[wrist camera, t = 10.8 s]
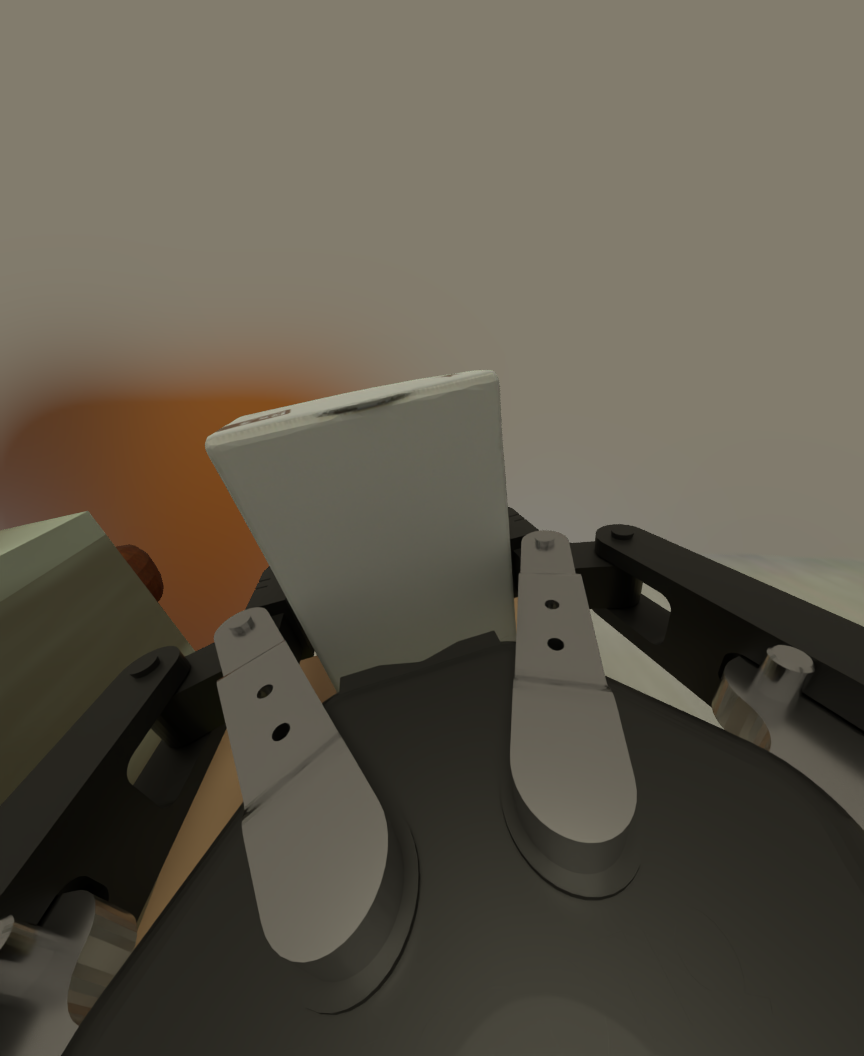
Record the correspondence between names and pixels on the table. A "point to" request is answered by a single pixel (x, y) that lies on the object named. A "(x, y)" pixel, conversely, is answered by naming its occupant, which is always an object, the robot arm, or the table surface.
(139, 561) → the potato
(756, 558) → the table surface
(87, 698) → the board
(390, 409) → the skincare box
